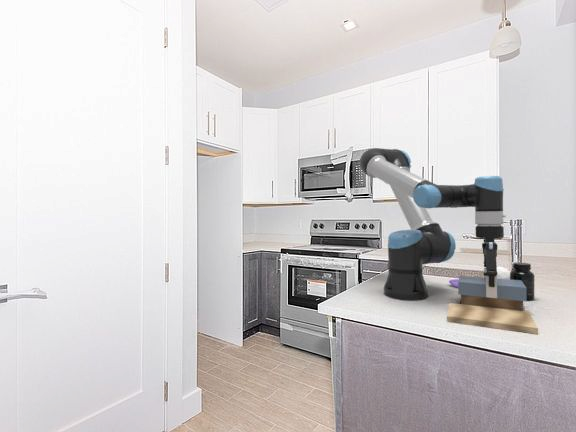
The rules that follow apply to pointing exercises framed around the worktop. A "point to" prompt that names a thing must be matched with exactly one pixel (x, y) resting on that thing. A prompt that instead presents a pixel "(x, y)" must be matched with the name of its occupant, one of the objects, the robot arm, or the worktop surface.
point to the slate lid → (504, 288)
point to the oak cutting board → (492, 318)
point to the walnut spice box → (492, 302)
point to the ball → (503, 273)
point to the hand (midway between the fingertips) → (490, 292)
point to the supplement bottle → (524, 278)
